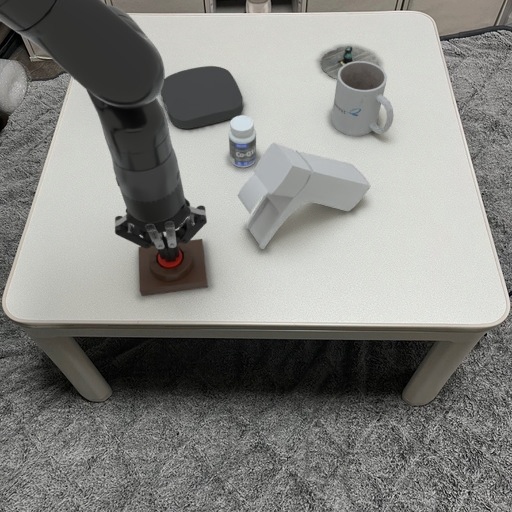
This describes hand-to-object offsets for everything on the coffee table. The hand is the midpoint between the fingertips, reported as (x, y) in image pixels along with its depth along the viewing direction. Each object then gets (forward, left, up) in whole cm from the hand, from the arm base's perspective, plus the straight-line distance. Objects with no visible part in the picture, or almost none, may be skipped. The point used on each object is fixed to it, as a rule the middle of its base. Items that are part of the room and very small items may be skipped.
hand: (170, 256), depth 77 cm
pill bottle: (+14, +22, -4) cm, 26 cm away
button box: (0, 0, -4) cm, 4 cm away
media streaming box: (+8, +39, -4) cm, 40 cm away
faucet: (+22, +7, -4) cm, 23 cm away
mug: (+37, +27, -4) cm, 46 cm away
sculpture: (+40, +46, -4) cm, 61 cm away
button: (0, 0, -2) cm, 2 cm away
